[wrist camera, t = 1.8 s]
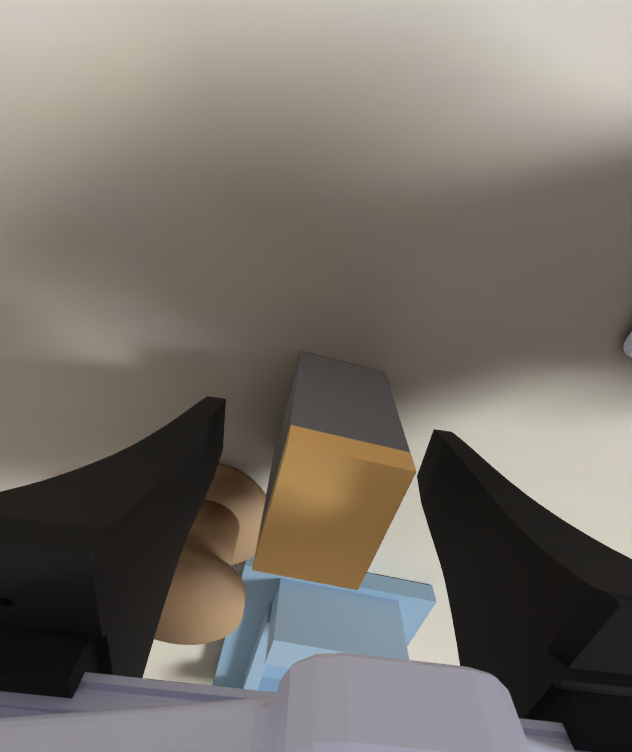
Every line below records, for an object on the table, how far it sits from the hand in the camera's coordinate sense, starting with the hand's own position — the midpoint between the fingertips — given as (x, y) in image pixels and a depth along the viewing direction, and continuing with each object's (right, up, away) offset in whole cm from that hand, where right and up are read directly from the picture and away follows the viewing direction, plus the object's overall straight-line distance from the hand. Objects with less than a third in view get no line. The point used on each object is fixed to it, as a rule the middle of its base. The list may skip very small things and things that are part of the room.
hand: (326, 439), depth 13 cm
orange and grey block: (0, +1, +1) cm, 2 cm away
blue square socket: (-1, -12, +8) cm, 14 cm away
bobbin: (-5, -4, +4) cm, 7 cm away
